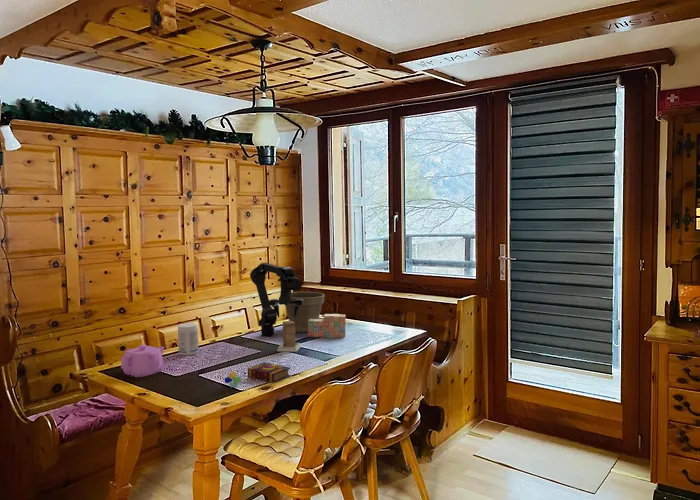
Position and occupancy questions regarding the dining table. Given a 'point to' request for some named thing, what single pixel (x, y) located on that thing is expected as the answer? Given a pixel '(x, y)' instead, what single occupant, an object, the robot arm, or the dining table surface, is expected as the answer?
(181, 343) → the supplement tub
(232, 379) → the dice
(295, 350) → the cream square tray
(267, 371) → the decorative book
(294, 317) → the robot arm
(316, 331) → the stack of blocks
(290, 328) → the walnut post
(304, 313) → the plant pot
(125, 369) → the teakettle
